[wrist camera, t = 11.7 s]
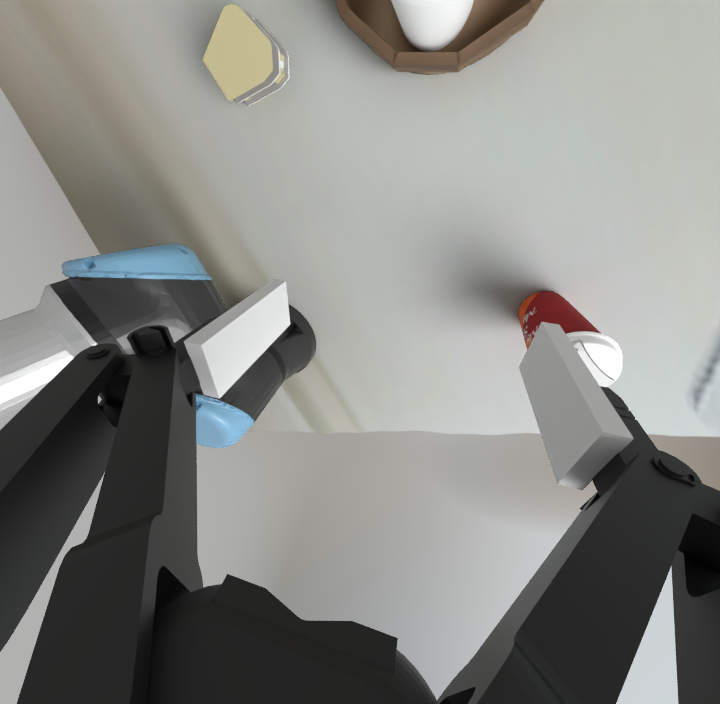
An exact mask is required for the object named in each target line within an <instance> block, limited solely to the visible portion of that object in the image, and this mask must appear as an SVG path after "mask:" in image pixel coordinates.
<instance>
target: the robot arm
mask: <svg viewBox="0 0 720 704" xmlns="http://www.w3.org/2000/svg"><path fill="white" fill-rule="evenodd" d="M62 269H63V272H62V273H63V274H64V275H65V276H66V277H67V276H68V277H70V278H68V279H66V280H63V281H60V282H57V283H53V284H50V285H47V286H45V289H44V292H43V295H42V297H41V300H40V303H39V304H38V306H37V307H36V308H35V309H32V310H29V311H26V312H23V313H21V314H18V315H15V316H12V317H9V318H6V319H3V320H0V651H1V650H2V649H3V647H4V646H5V644H6V643H7V642H8V640H9V638H10V637H11V635H12V634H13V632H14V630H15V629H16V627H17V625H18V624H19V622H20V620H21V619H22V617H23V615H24V614H25V612H26V611H27V609H28V607H29V605H30V604H31V602H32V600H33V598H34V597H35V595H36V593H37V591H38V589H39V588H40V586H41V584H42V582H43V581H44V579H45V577H46V575H47V574H48V572H49V570H50V568H51V566H52V564H53V563H54V561H55V559H56V558H57V556H58V554H59V552H60V550H61V549H62V547H63V545H64V543H65V542H66V540H67V538H68V536H69V535H70V533H71V531H72V529H73V527H74V526H75V524H76V522H77V520H78V519H79V517H80V515H81V513H82V511H83V510H84V508H85V506H86V504H87V503H88V501H89V499H90V497H91V495H92V493H93V492H94V490H95V488H96V487H97V485H98V483H99V481H100V480H101V478H102V476H103V474H104V472H105V474H104V479H103V482H102V486H101V489H100V493H99V497H98V501H97V504H96V509H95V512H94V516H93V519H92V523H91V527H90V531H89V534H88V536H87V539H86V540H85V541H84V542H83V543H82V544H79V545H77V546H75V547H72V548H71V549H70V550H69V551H68V553H67V554H66V555H65V557H64V559H63V561H62V563H61V566H60V568H59V571H58V574H57V578H56V581H55V584H54V587H53V590H52V593H51V597H50V600H49V603H48V606H47V609H46V613H45V616H44V619H43V622H42V625H41V628H40V632H39V635H38V638H37V641H36V644H35V648H34V651H33V654H32V657H31V660H30V664H29V667H28V670H27V673H26V676H25V679H24V683H23V686H22V689H21V693H20V695H19V698H18V702H17V704H616V702H617V699H618V697H619V694H620V692H621V690H622V687H623V685H624V682H625V679H626V677H627V675H628V672H629V670H630V667H631V664H632V662H633V659H634V657H635V654H636V652H637V649H638V647H639V645H640V642H641V640H642V637H643V635H644V632H645V630H646V627H647V625H648V622H649V620H650V617H651V615H652V612H653V610H654V607H655V605H656V602H657V599H658V597H659V595H660V592H661V590H662V587H663V585H664V582H665V580H666V577H667V575H668V572H669V570H670V567H671V565H672V581H673V582H672V583H673V601H674V622H675V642H676V662H677V680H678V701H679V704H720V491H718V490H716V489H714V488H711V487H709V486H706V485H704V484H702V482H701V480H700V479H699V477H698V476H697V474H696V473H695V472H694V471H693V470H692V469H691V468H690V467H689V466H687V465H686V464H685V463H683V462H682V461H680V460H679V459H677V458H676V457H674V456H672V455H669V454H668V453H665V452H663V451H659V450H658V449H657V448H656V447H655V445H654V444H653V442H652V441H651V440H650V438H649V437H648V435H647V434H646V432H645V431H644V430H643V428H642V427H641V425H640V424H639V423H638V421H637V420H635V417H634V416H633V414H632V413H631V411H628V410H629V409H628V407H627V406H626V404H625V403H624V402H623V400H622V399H621V398H620V397H619V396H618V395H617V394H615V393H614V392H613V391H612V390H611V389H609V388H607V387H602V386H599V384H598V383H597V381H596V380H595V378H594V377H593V375H592V374H591V372H590V371H589V369H588V368H587V366H586V365H585V363H584V361H583V360H582V358H581V357H580V355H579V354H578V352H577V351H576V349H575V348H574V346H573V345H572V343H571V342H570V340H569V339H568V337H567V335H566V334H565V332H564V331H563V329H562V328H561V326H560V325H559V324H553V323H546V322H541V324H540V326H539V328H538V330H537V332H536V334H535V336H534V338H533V340H532V342H531V344H530V346H529V348H528V350H527V352H526V354H525V356H524V358H523V360H522V362H521V364H520V366H519V369H520V372H521V375H522V378H523V381H524V384H525V387H526V390H527V393H528V396H529V399H530V402H531V405H532V408H533V411H534V414H535V417H536V420H537V423H538V426H539V429H540V433H541V436H542V439H543V442H544V445H545V448H546V451H547V454H548V457H549V460H550V463H551V465H552V469H553V472H554V475H555V478H556V481H557V484H560V485H564V486H568V487H572V488H576V489H580V490H583V489H584V488H585V487H586V486H587V485H588V484H589V483H590V482H591V481H592V480H593V482H594V485H595V487H596V489H597V491H598V492H597V493H596V494H595V495H594V496H592V498H590V499H589V500H588V501H587V502H586V503H585V504H584V505H583V506H582V507H581V508H580V509H581V510H582V511H581V512H580V514H579V515H578V517H577V518H576V520H575V521H574V522H573V523H572V525H571V526H570V527H569V529H568V530H567V531H566V533H565V534H564V535H563V537H562V538H561V540H560V541H559V542H558V543H557V545H556V546H555V548H554V549H553V550H552V552H551V553H550V554H549V556H548V557H547V558H546V560H545V561H544V562H543V564H542V565H541V566H540V568H539V569H538V571H537V572H536V573H535V575H534V576H533V577H532V579H531V580H530V581H529V583H528V584H527V585H526V587H525V588H524V589H523V591H522V592H521V593H520V595H519V596H518V598H517V599H516V600H515V602H514V603H513V604H512V606H511V607H510V608H509V610H508V611H507V612H506V614H505V615H504V617H503V618H502V619H501V620H500V622H499V623H498V625H497V626H496V627H495V629H494V630H493V631H492V633H491V634H490V635H489V637H488V638H487V639H486V641H485V642H484V643H483V645H482V646H481V647H480V649H479V650H478V652H477V653H476V654H475V656H474V657H473V658H472V659H471V661H470V662H469V663H468V664H467V665H466V666H465V667H464V668H463V669H462V670H461V671H460V672H459V673H458V675H457V676H456V677H455V678H454V679H453V680H452V682H451V683H450V685H449V686H448V687H447V688H446V690H445V691H444V692H443V693H442V695H441V696H440V698H439V699H438V700H436V698H435V696H434V694H433V693H432V691H431V690H430V688H429V686H428V685H427V683H426V681H425V680H424V679H423V677H422V676H421V674H420V673H419V672H418V670H416V668H415V667H414V666H413V665H412V664H411V663H410V661H409V660H408V659H407V658H406V657H405V656H404V655H403V654H401V653H400V652H399V651H398V650H397V649H396V648H397V638H395V637H393V636H390V635H387V634H385V633H382V632H380V631H377V630H374V629H372V628H369V627H366V626H364V625H361V624H358V623H356V622H353V621H305V620H302V619H300V618H299V617H297V616H296V615H295V614H294V613H293V612H292V611H291V610H289V609H288V608H287V607H286V606H285V605H284V604H283V603H282V602H280V601H279V600H278V599H277V598H276V597H275V596H274V595H272V594H271V593H270V592H269V591H268V590H267V589H265V588H263V587H260V586H258V585H255V584H252V583H250V582H247V581H244V580H242V579H239V578H236V577H234V576H231V575H228V574H227V576H226V578H225V580H224V582H223V583H222V584H220V585H213V586H208V587H204V588H203V581H202V575H201V571H200V567H199V563H198V556H197V470H196V469H197V468H196V467H197V465H196V444H198V445H202V446H206V447H212V448H224V447H228V446H231V445H233V444H235V443H236V442H237V441H238V440H239V439H240V438H241V437H242V436H243V435H244V433H245V432H246V431H247V430H248V429H249V428H251V427H252V426H253V424H254V422H255V420H256V419H257V418H258V416H259V415H260V413H261V412H262V411H263V409H264V408H265V407H266V405H267V404H268V402H269V401H270V400H271V398H272V397H273V395H274V394H275V393H276V391H277V390H278V388H279V387H280V386H281V384H282V383H283V381H284V380H286V379H287V378H289V377H290V376H292V375H293V374H295V373H298V372H299V371H301V370H303V369H304V368H305V367H306V366H307V365H308V363H309V362H310V361H311V359H312V358H313V356H314V354H315V350H316V339H315V335H314V332H313V330H312V328H311V326H310V324H309V323H308V321H307V320H306V319H305V318H304V317H303V315H302V314H300V313H299V312H298V311H297V310H296V309H294V308H293V307H291V306H290V305H288V296H287V287H286V281H282V280H276V279H273V280H271V281H270V282H268V283H267V284H266V285H264V286H263V287H261V288H260V289H258V290H257V291H255V292H254V293H253V294H251V295H250V296H248V297H247V298H245V299H244V300H242V301H241V302H240V303H238V304H237V305H235V306H234V307H232V308H231V309H229V310H228V311H227V309H226V307H225V305H224V303H223V301H222V300H221V298H220V296H219V294H218V292H217V290H216V288H215V287H214V285H213V283H212V281H211V280H212V277H211V276H209V275H208V274H207V272H206V270H205V269H204V267H203V266H202V264H201V262H200V261H199V259H198V257H197V256H196V254H195V253H194V252H193V251H192V250H191V249H190V248H188V247H187V246H185V245H182V244H164V245H157V246H150V247H144V248H137V249H131V250H125V251H119V252H113V253H107V254H102V255H97V256H92V257H87V258H83V259H76V260H70V261H66V262H64V263H63V264H62ZM98 396H100V397H101V399H102V400H101V402H100V403H99V404H98Z"/></svg>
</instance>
